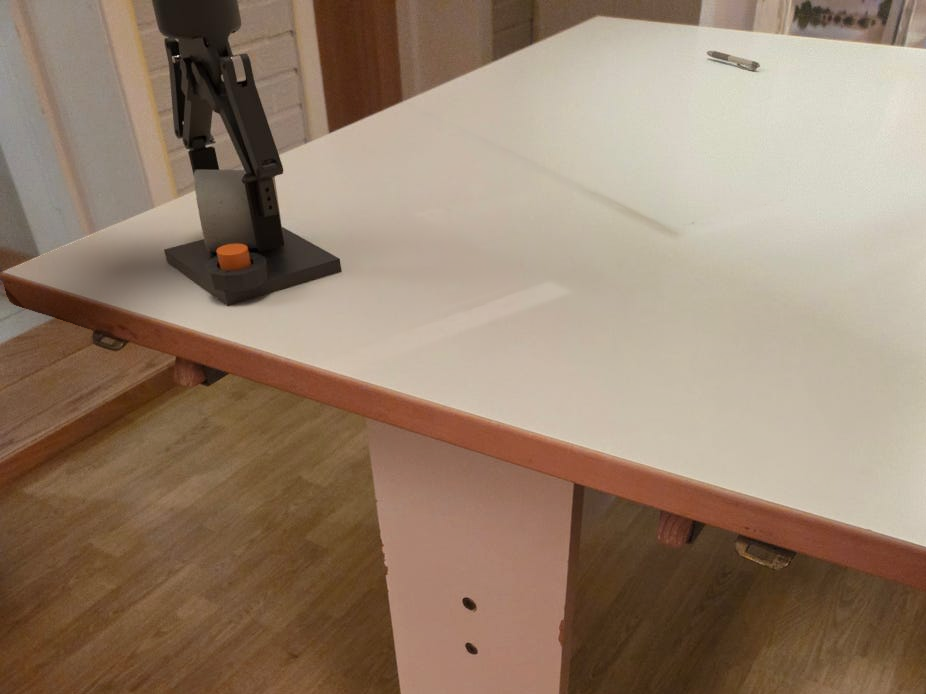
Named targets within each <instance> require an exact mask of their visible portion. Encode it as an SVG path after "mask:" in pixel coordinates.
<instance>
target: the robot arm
mask: <svg viewBox="0 0 926 694" xmlns="http://www.w3.org/2000/svg"><path fill="white" fill-rule="evenodd" d="M151 3H152V8H153V12H154V16H155V20H156V25H157V29H158V31H159V33H160V34H161V35H162V36H164V39H163V40H164V41H163V42H164V43H163V44H164V47H165V52H166V57H167V62H168V71H169V83H170V96H171V106H172V107H171V108H172V119H173V120H172V121H173V130H174V135H175V136H176V138H177V139H178V140H180V139H182V145H183V146H184V148H185V149H186V150H188V151H187V153H188V157H189V161H190V162H189V163H190V166H191V170H192V174H193V176H194V172H195V170H220V167H219V161H218V157H217V152H216V148H215V147H214V146H209V145H214V144H216V142H217V141H215V138H214V136H213V134H212V133H211V129H212V122H213V112H214V113H216V114H218V115H219V116H220V119H221V121H222V123H223V125H224V127H225V129H226V131H227V134H228V137H229V139H230V141H231V143H232V145H233V147H234V150H235V152H236V154H237V156H238V159H239V161H240V163H241V165H242V167H243V170H245V172H246V174H244V176H243V178H242V180H241V181H242V182H243V184H245V189H246V194H247V199H248V204H249V209H250V215H251V220H252V225H253V230H254V235H255V240H256V245H257V250H259V251H260V252H262V251H266V250H270V249H273V248H277V247H280V246H284V239H283V234H282V228H281V225H282V221H281V222H280V218H281V216H280V217H279V211H280V210H279V211H278V205H277V200H276V194H275V188H274V182H273V178H274V177H278V176H281V175H283V174H284V167H283V163H282V161H281V157H280V155H279V151H278V148H277V145H276V142H275V139H274V137H273V134H272V130H271V128H270V125H269V121H268V118H267V115H266V112H265V109H264V107H263V103H262V101H261V98H260V95H259V92H258V88H257V86H256V85H257V84H256V82H255V78H254V72H253V67H252V63H251V59H250V55H248V53H238V54H233V50H232V48H231V45H230V42H229V38H230V35H231V34H236V33H237V32H238V31H239V30H240V29H241V27H242V18H241V13H240V7H239V1H238V0H151Z"/></svg>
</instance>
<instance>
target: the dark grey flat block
mask: <svg viewBox="0 0 926 694" xmlns="http://www.w3.org/2000/svg"><path fill="white" fill-rule="evenodd" d="M282 233H283V239H284V246H280V247H277V248H273V249H270V250H266V251H262V252H260V251H259V250H257V248H250V249H248V251H249V256H250V261H251V266H249V267H247V268H243V269H240V270H229V271H228V270H222V269H220V264H219V260H218V256H217V252H214V253H210V252H208V250H207V248H206V245H205V241H204V238H203V239H199V240H195V241H192V242H187V243H184V244H179V245H176V246H172V247H168V248H164V249H163V252H164V255H165V256H164V257H165V259H166V262H167V264H169V265H170V266H171V267H173V268H174V269H176V270H177V271H178V272H180V273H181V274H182V275H184V276H185V277H187V278H188V279H189V280H191V281H192V282H193V283H195V284H196V285H198V286H199V287H200V288H202V289H203V290H204V291H206V292H208V293H209V294H210V295H212V296H213V297H214V298H216V299H217V300H218V301H220V302H221V303H222V304H224V305H225V306H227V307H230V306H233V305H236V304H241V303H242V302H247V301H249V300H252V299H256V298H259V297H263V296H266V295H269V294H272V293H277V292H280V291H283V290H286V289H290V288H292V287H296V286H299V285H302V284H306V283H309V282H313V281H315V280H319V279H322V278H325V277H329V276H332V275H335V274H339V273H342V265H341V259H340V258H339V257H338V256H336V255H334V254H332V253H331V252H329V251H327V250H325V249H323V248H322V247H319V246H318V245H316V244H315V243H313V242H310V241H309V240H307V239H305V238H303V237H302V236H300V235H298V234H297V233H294V232H292V231H291V230H290V229H287V228H285V227H283V226H282Z"/></svg>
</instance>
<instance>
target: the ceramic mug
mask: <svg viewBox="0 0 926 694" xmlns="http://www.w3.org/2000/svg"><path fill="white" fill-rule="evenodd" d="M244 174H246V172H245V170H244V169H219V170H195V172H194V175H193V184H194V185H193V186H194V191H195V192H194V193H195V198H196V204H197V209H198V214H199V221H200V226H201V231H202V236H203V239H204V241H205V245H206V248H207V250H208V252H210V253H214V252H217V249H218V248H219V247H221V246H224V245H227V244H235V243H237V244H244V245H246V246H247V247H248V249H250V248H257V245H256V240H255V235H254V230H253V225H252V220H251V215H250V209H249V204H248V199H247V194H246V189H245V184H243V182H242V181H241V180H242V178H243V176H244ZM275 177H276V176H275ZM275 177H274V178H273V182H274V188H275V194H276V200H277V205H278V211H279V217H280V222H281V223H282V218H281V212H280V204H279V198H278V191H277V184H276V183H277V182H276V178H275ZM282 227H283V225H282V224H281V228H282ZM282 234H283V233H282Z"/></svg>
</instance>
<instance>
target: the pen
mask: <svg viewBox="0 0 926 694" xmlns="http://www.w3.org/2000/svg"><path fill="white" fill-rule="evenodd" d="M706 55H707V56H708V57H711V58H713V59H717V60H721V61H724V62H729V63H734V64H736V66H737V67H738V68H740V69H742V70H747V71H756V70H757V69H758V68H761V64H760V62H758V61H754V60H751V59H747V58H743V57H739V56H735V55H732V54H728V53H724V52H720V51H716V50H707V51H706Z"/></svg>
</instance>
